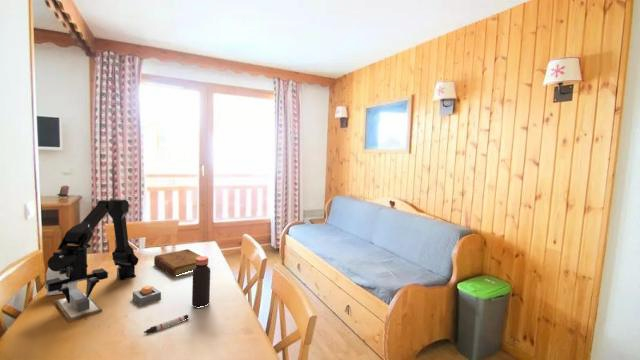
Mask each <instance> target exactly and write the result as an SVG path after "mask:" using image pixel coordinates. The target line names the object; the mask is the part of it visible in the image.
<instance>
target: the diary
mask: <svg viewBox="0 0 640 360" xmlns="http://www.w3.org/2000/svg"><path fill="white" fill-rule="evenodd" d="M200 256H201V255H200V254H198V253H196V252H195V251H193V250H191V249H182V250H178V251H177V250H176V251H172V252H168V253H162V254H158V255H155V256H154V258H153V259H154V260H153V261H154V262H153V264H154V266H156V267H158V269H161V270H162V271H163V272H165V273H166V274H168V275H170V276H172V277H173V278H176V277H175V276H176V275H179V274H182V273H185V272H188V271H192V270H194V268H195V267H196V258H197V257H200Z"/></svg>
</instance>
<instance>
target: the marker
mask: <svg viewBox="0 0 640 360" xmlns="http://www.w3.org/2000/svg"><path fill="white" fill-rule="evenodd" d="M187 318H190V317H189V314H185V315H182V316H178V317H176V318H173V319H170V320H168V321H164V322H161V323H159V324H156V325H153V326H151V327H150V328H148V329H146V330H144V331H143V333H144V334H149V333H151V334H152V333H154V332H159V331H161V330H163V328H164V329H166V327H167V328H169V327H172V326H174V325H173V324H175V325H177V324H176V323H178V322H180V321H183V320H185V319H187ZM183 322H184V321H183ZM180 323H181V322H180ZM178 324H179V323H178ZM171 325H172V326H171ZM168 326H169V327H168Z"/></svg>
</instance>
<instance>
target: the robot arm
mask: <svg viewBox="0 0 640 360" xmlns="http://www.w3.org/2000/svg"><path fill="white" fill-rule="evenodd" d="M129 211H130V203H129V201H127V199H119V198H117V199H116V198H110V199H109V200H107V199H101V200H98V201H97V202H96V205H95V207H93V208H92V210H91V211H90V212H89V213H88V214H87V216H86V217H84V219H83V220H82V221H81V222H80V223H78V224H76V225H73V226H72V227H70V228H69V229H68V230H67V231H66V232H65V233H64V236H63V238H62V239H61V242H60V244H59V245H58V248H57V250H58V251H54V252H53V253H52V256H50V257H49V259H48V260H47V267H48V268H50V269H51V270H52V271H55V272H57V271H59V274H60V275H61V274H65V276H66V277H69V279H64V280H60V279H59V278H55V279H51V280H47V279H46V281H45V282H44V288H45V289H46V292H47V291H48V292H52V291H56V290H58V291H59V292H61V291H62V292H63V295H64V298H66V300H67V302H68V303H70V295H69V288H68V287H67V284H70V283H74V282H77V283H78V282H82V281H86V291H85V293H86V297H87V298H88V297H90V295H91V293H92V291H93V289H94V287H95V286H96V285H97V284H98V283H100V281H102V280H105V279H106V280H107V279H108V278H109V272H108V271H107V270H105V268H103V267H102V268H98V269H93V270H92V271H91V273H88V266H89V265H88V249H89V248H91V247H92V245H91V244H89V243H90V241H91V239H92V237H93V235H94V230H95V228H96V227H97V225H98V224H99V223H100V222H101V221H102V220H103V218H104V217H105V216H106V215H107V214H108V216H110V217H111V219H112V221H113V222H112V224H113V231H114V237H115V239H114V240H115V245H116V248H115V249H114V251H112V252H111V254H112V260H113V264H114V266H117V268H116V277H117V278H118V279H120V280H121V281H124V280H127V279H132V278H135V277H137V275H136V274H135V273H136V272H135V270H136V269H135V267H136V266H137V264H138V263H139V258H138V257H137V256H136V254H135V252H134V249H133V247H131V245H130V244H129V236H128V228H127V227H128V226H127V219H126V218H127V217H126V216H127V215H128V214H129Z"/></svg>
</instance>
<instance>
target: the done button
mask: <svg viewBox="0 0 640 360" xmlns="http://www.w3.org/2000/svg"><path fill="white" fill-rule="evenodd" d="M140 290H141V295H143V296H145V295H148V294H151V293H152V286H151V285H146V286H143V287H141V289H140Z"/></svg>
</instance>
